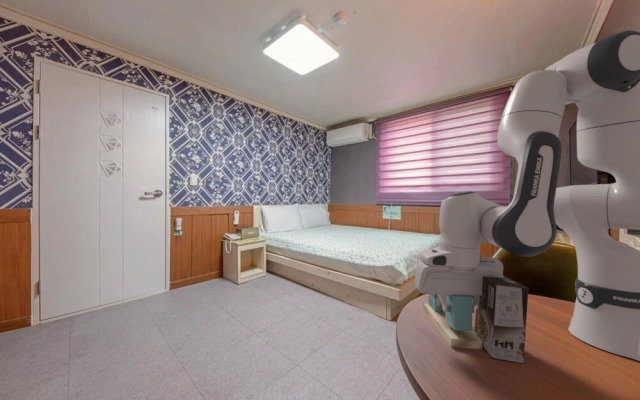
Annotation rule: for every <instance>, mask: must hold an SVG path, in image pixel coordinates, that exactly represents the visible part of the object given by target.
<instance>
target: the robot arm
mask: <svg viewBox="0 0 640 400" xmlns="http://www.w3.org/2000/svg"><path fill="white" fill-rule="evenodd" d="M570 104H575V105H576V107H577V108H578V110H577V116H576V159H577V161H578V162H579V163H580V164H581V165H582V166H584V167H587V168H589V169H593V170H597V171H601V172H605V173H608V174H610V175H612V177H614V178H615V182H614V183H613V182H612V183H600V184H599V183H598V184H574V185H567V186H561V187H557V185H558V181H559V173H560V167H561V159H562V143H561V140H560V138H559V134H560V133H559V132H560V128H561V124H562V120H563V117H564V112H565V107H566V105H570ZM496 134H497V137H496V144H497V146H498V148H499V149H500V150H501V151H502V152H503V153H504V154H506V155H508V156H511V157H513V158H515V160H516V161H517V173H516V180H515V186H514V192H513V197H512V200H511V202H510V203H509V204H508V205H501V204H499V203H496V202H492V201H490V200H488V199H486V198H484V197H482V196H480V195H479V194H478V193H477V192H476V191H465V192H464V191H463V192H456V193H451V194H447V195H446V196H445V197H444V198H442V201H441V204H440V208H439V221H438V223H439V226H438V227H439V230H440V238H439V240H438V246H436V247H432V248H429V249H426V250H422V251H420V252H419V255H418V256H419V259H420V260H421V261H419V262H418V263H417V266H416V270H415V277H414V278H415V279H414V285H415V288H416V289H417V291H418V292H420V293H421V294H425V295H426V294H427V295H429V294H438V296H439V298H440V300H441V302H442V309H443V310H444V312H451V305H450V304H449V303H447V302H446V301H445V299H447V295H465V296H471V297H472V314H475V308H476V305H477V303H478V302H479V301H480V296H482V284H483V280H482V278H483V277H493V278H494V277H500V278H503V276H504V274H503V273H504V264H503V262H502V261H501V260H500V259H498V258H496V257H485V256H483V257H482V256H481V255H480V254H481V244H482V243H489V244H491V245H493V246H496V247H498V248H501V249H502V250H504V251H506V252H508V253H509V254H511V255H513V256H518V257H522V258H523V257H524V258H527V257H528V258H529V257H535V256H538V255H541V254H543V253H544V252H546V251H548V249H550V248H551V246H553V244H554V243H555V240H556V237H557V226H558V227H560V229H561V230H563V231H564V233H565V234H566V235H567V236H568V237H569V239H570V240H571V242H572V243H573V245H574V248H575V252H576V254H575V255H576V261H577V277H576V278H575V283H574V285H575V286H574V292H575V295H576V299H575V303H574V308H573V314H572V317H571V319H570V324H569V326H568V327H567V328H568V329H567V330H568V332H569V333H570V334H571V335H572V336H574V337H575V338H577V339H579V340H580V341H582V342H584V343H586V344H588V345H591V346H593V347H596V348H597V349H600V350H604V351H606V352H609V353H612V354H614V355H618V356H622V357H626V358H629V359H633V360H636V361H638V362H640V250H639V249H637V248H636V247H632V246H631V245H628V244H627V243H626V244H625V243H624V242H621V241H618V240H617V239H614V238H613V237H611V235H610V234H609V233H608V229H618V230H619V229H622V230H635V231H640V32H639V31H637V30H625V31H623V30H622V31H620V32H616V33H614V34H611V35H608V36H604V37H602V38H601V39H599V40H597V41H596V42H594V43H592V44H589V45H586V46H583V47H582V48H579V49H578V50H575V51H573V52H571V53H568V54H567V55H565V56H564V57H562V58H561V59H560V60H557V61H556V62H554V63H552V64H551V65H549V66H548V67H546V68H543V69H541V70H540V69H539V70H535V71H533V72H529V73H528V74H526V75H524V76H523V77H521V78H520V79H519V80H518V81H517V82H516V84H515V85H514V87H513V88H512V91H511V92H510V95H509V97H508V98H507V101H506V104H505V106H504V110H503V111H502V116H501V118H500V122H499V125H498V129H497V133H496ZM480 256H481V257H480ZM444 298H445V299H444Z"/></svg>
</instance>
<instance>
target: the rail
mask: <svg viewBox="0 0 640 400" xmlns="http://www.w3.org/2000/svg"><path fill="white" fill-rule="evenodd" d="M444 299H445V298H444ZM445 301H446V299H445ZM422 311H424V313H425V314H426V315H427V317H428V319H429V320H430V321H431V322H432V324H433V325H434V326H435V328H436V329H437V331H438V332H439V333H440V334H441V336H442V337H443V339H444V340H445V341H446V343H447V344H448V345H449V347H450V348H457V349H458V348H460V349H473V350H474V349H475V350H483V346H482V340H481V339H480V338H479V337H478V336H477V335H476V334H475V331H474V330H472V331H460V330H454V329H453V328H452V327H451V326H450V324H449V323H448V322H447V321H446V320H445V312H444V310H443V309H442V302H441V300H440V298H439V296H438V294H428V302H427V303H422Z"/></svg>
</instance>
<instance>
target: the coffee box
mask: <svg viewBox="0 0 640 400" xmlns="http://www.w3.org/2000/svg"><path fill="white" fill-rule="evenodd" d="M482 280H483V284H482V296H480V301H479V302H478V303H477V305H476V306H475V319H474V333H475V334H476V335H477V336H478V337H479V338H480V339H481V340H482V348H484V349H485V350H486V352H487V353H488V355H489V356H490V357H491V358H493V359H497V360H505V361H508V362H509V361H510V362H515V363H519V364H520V363H521V364H523V363H524V361H525V349H526V348H525V347H526V335H527V334H526V332H527V329H526V328H527V316H528V304H529V303H528V300H529V299H528V298H529V289H530V288H529V287H527V286H525V285H523V284H521V283H519V282H518V281H515V280H513V279H512V278H510V277H507V276H506V275H503V278H500V277H494V278H493V277H483V278H482Z"/></svg>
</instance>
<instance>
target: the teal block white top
mask: <svg viewBox="0 0 640 400" xmlns="http://www.w3.org/2000/svg"><path fill="white" fill-rule="evenodd" d="M446 302H447V303H449V304H450V305H451V312H445V320H446V321H447V322H448V323H449V324H450V326H451V327H452V328H453V329H454V330H460V331H473V313H472V297H471V296H465V295H447V299H446Z"/></svg>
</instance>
